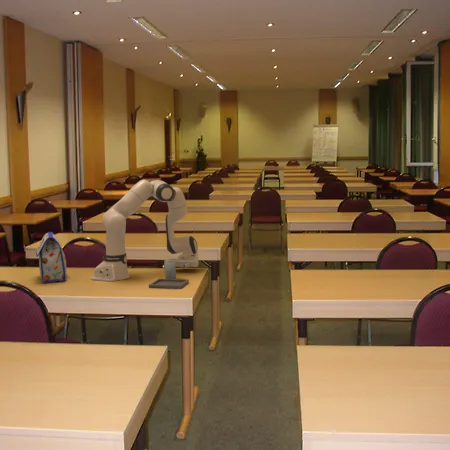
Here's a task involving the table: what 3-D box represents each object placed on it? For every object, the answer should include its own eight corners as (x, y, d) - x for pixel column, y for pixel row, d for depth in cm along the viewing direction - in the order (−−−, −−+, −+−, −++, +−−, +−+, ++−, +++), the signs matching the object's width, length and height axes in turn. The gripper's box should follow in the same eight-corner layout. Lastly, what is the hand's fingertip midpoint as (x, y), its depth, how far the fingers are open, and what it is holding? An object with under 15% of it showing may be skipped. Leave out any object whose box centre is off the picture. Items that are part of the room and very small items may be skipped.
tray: (149, 287, 347) (148, 284, 347) (158, 281, 360) (158, 278, 360) (180, 288, 342) (180, 285, 342) (188, 282, 356) (188, 279, 355)
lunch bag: (37, 276, 386) (34, 232, 382) (66, 273, 390) (62, 230, 386) (38, 284, 364) (34, 238, 360) (68, 281, 369) (64, 235, 365)
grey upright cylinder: (163, 280, 363) (162, 263, 361) (167, 278, 368) (166, 261, 367) (173, 280, 361) (172, 263, 360) (177, 278, 367) (176, 261, 365)
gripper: (168, 255, 390) (160, 259, 377) (200, 256, 385) (193, 260, 372) (168, 265, 391) (160, 270, 378) (200, 266, 386) (193, 271, 373)
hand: (177, 265), depth 375 cm, fingers open, 8 cm apart
